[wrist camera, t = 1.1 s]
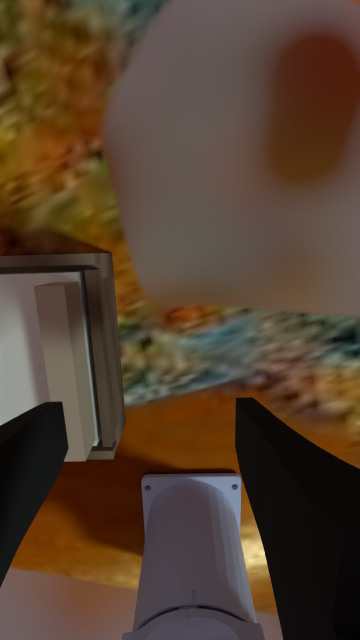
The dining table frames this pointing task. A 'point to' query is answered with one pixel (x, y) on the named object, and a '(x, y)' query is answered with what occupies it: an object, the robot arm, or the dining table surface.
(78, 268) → the walnut box
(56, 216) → the dining table surface
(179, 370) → the dining table surface
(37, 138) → the dining table surface
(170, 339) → the dining table surface
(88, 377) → the cover plate
